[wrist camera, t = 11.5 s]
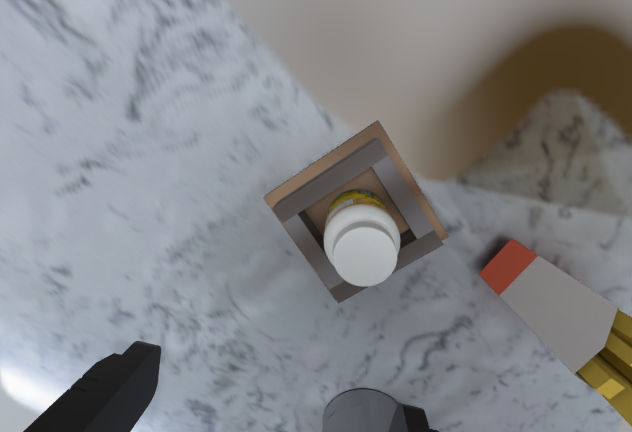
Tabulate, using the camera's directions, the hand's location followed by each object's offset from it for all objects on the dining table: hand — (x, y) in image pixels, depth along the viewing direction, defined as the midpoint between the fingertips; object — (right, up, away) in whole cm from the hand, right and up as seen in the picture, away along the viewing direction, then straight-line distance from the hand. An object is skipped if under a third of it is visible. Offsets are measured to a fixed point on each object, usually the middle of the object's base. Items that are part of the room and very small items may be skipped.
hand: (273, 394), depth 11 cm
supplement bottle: (+5, +6, +19) cm, 20 cm away
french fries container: (+22, 0, +21) cm, 30 cm away
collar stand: (+5, +6, +20) cm, 22 cm away
